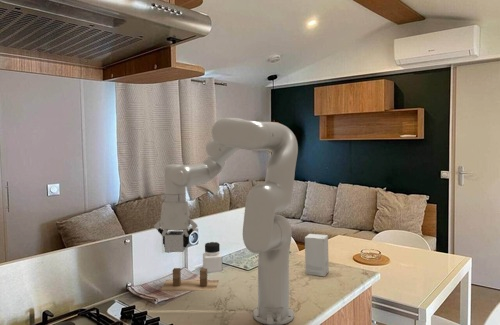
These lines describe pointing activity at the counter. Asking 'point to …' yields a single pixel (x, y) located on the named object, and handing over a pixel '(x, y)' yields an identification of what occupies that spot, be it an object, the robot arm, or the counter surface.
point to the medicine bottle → (212, 257)
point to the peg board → (190, 282)
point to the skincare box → (316, 254)
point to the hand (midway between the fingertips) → (176, 245)
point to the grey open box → (174, 241)
